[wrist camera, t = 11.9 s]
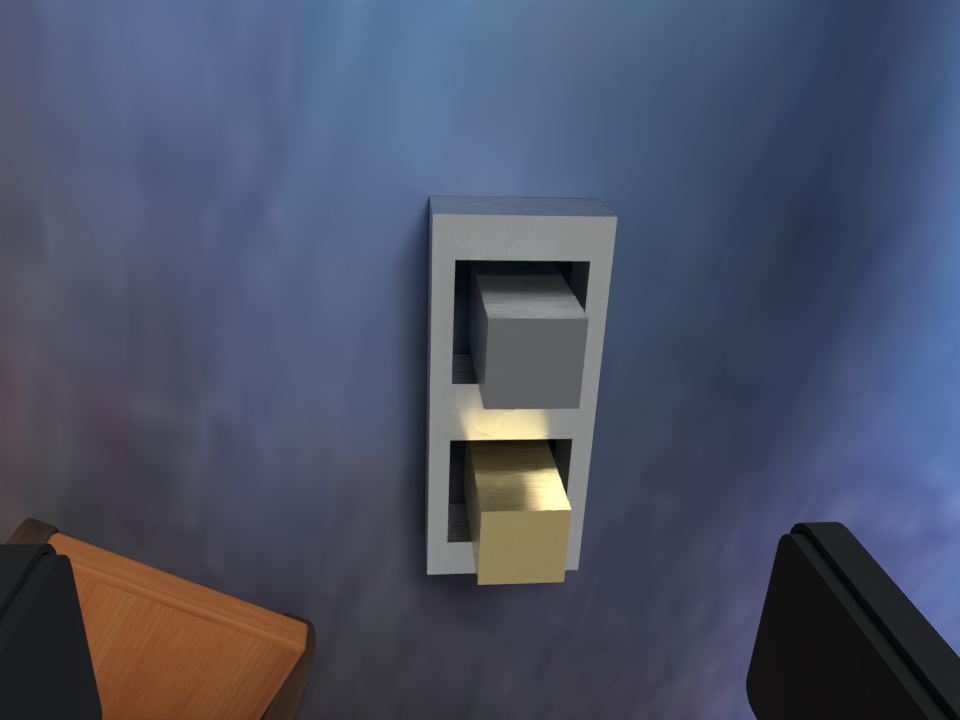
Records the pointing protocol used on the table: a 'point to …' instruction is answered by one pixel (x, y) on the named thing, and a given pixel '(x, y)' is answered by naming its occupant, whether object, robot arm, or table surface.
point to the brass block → (516, 511)
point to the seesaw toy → (180, 641)
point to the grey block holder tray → (452, 378)
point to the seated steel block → (525, 335)
